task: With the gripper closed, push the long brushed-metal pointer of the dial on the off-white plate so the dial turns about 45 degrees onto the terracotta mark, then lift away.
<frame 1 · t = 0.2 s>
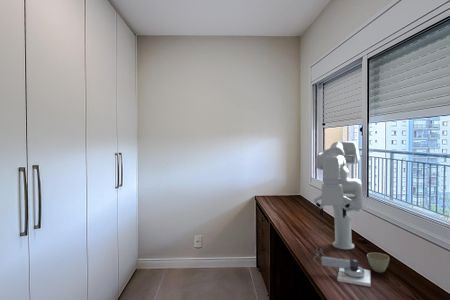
hand: (333, 216, 137), 30 cm above the table, tool pointing down, fingers open, 9 cm apart
flower pot: (378, 270, 144), on the table
dial plate: (354, 277, 139), on the table
pliers: (318, 256, 165), on the table
dial: (342, 265, 141), point 5 cm above the table, hinge at 0.0°
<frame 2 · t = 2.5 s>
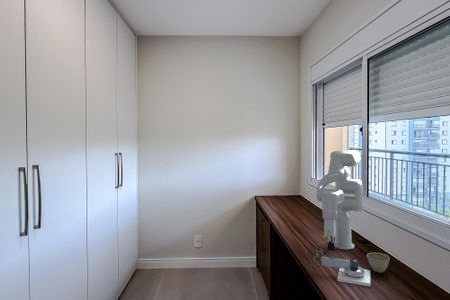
hand: (331, 249, 149), 10 cm above the table, tool pointing down, fingers closed
nothing on the table moved.
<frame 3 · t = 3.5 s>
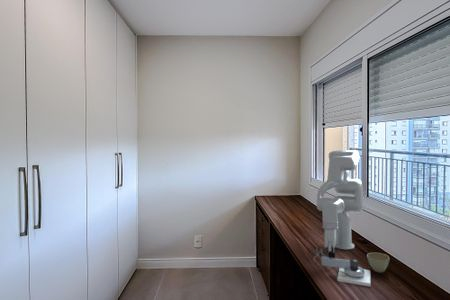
hand: (331, 259, 149), 5 cm above the table, tool pointing down, fingers closed
nothing on the table moved.
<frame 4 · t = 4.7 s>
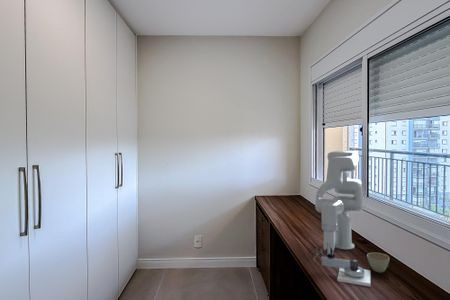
hand: (330, 261, 146), 5 cm above the table, tool pointing down, fingers closed
dial: (342, 265, 141), point 5 cm above the table, hinge at 0.0°, touching gripper
everything else where it was.
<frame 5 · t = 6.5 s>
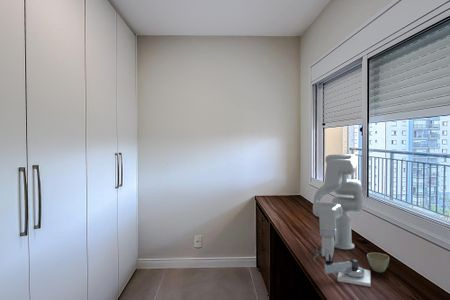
hand: (329, 268, 140), 4 cm above the table, tool pointing down, fingers closed
dial: (344, 268, 138), point 5 cm above the table, hinge at 36.1°, touching gripper
everything else where it was.
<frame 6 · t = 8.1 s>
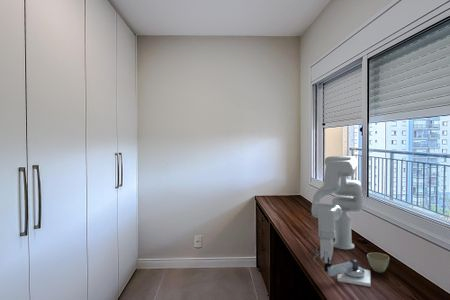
hand: (328, 270, 137), 4 cm above the table, tool pointing down, fingers closed
dial: (345, 269, 137), point 5 cm above the table, hinge at 47.2°, touching gripper
everything else where it was.
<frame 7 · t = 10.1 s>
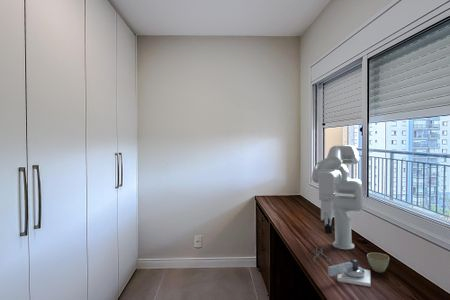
hand: (328, 233, 140), 22 cm above the table, tool pointing down, fingers closed
dial: (345, 269, 137), point 5 cm above the table, hinge at 47.5°
everything else where it was.
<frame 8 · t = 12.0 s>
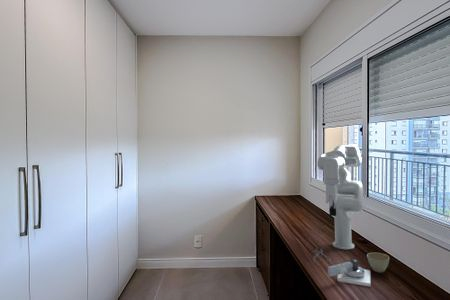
hand: (332, 215, 151), 27 cm above the table, tool pointing down, fingers closed
nothing on the table moved.
at the end: dial at +48° (first picture: +0°); flower pot moved 0.2 cm from its start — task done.
